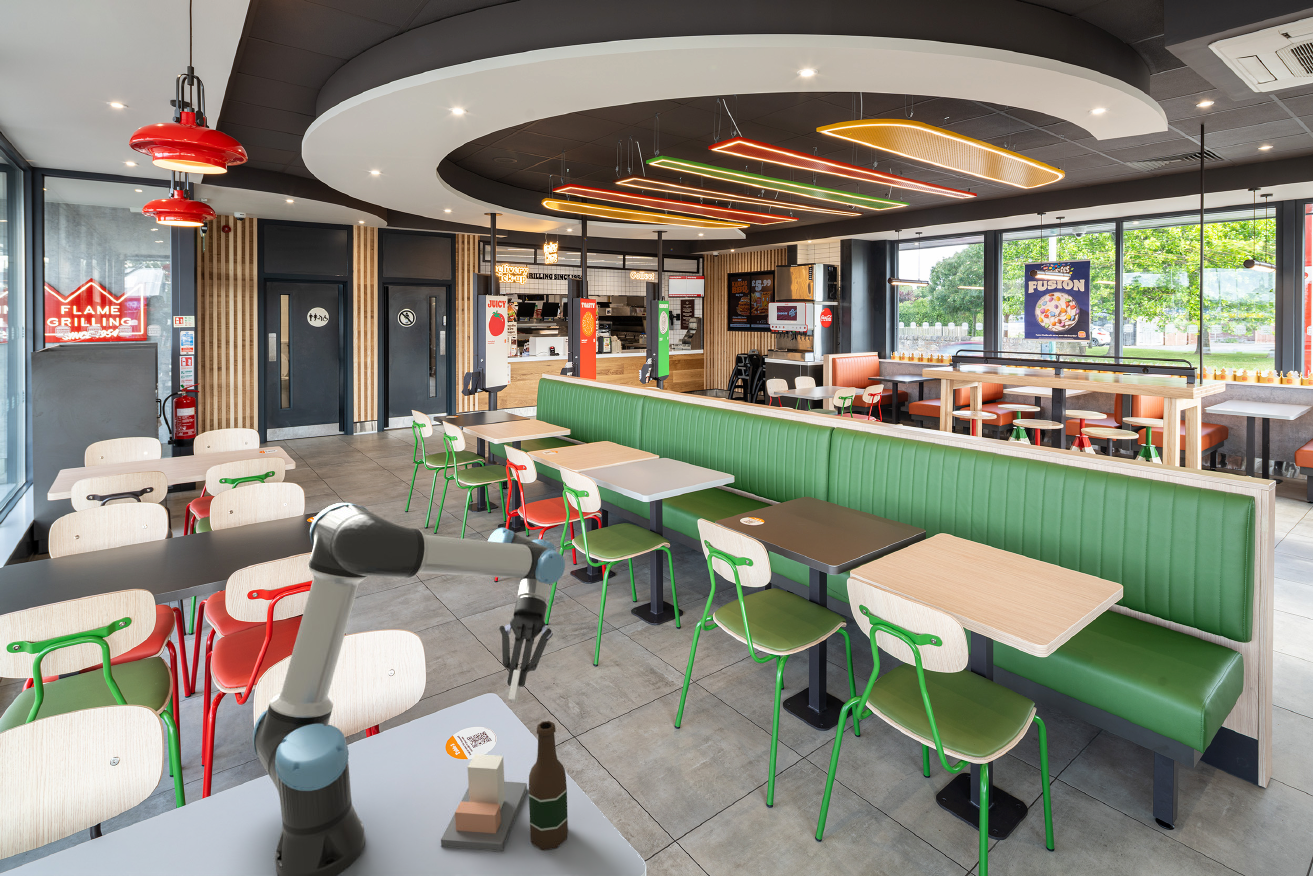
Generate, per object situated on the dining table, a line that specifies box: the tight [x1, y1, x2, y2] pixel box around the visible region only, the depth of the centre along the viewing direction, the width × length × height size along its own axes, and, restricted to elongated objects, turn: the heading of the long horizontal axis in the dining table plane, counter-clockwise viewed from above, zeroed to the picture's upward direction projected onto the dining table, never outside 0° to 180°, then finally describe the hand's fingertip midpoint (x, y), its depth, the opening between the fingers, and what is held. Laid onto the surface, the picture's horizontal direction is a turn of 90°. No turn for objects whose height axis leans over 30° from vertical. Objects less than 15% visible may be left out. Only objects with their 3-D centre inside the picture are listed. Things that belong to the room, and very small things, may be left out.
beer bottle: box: [528, 720, 569, 851], centre depth 128 cm, size 8×8×24 cm
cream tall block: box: [467, 753, 505, 810], centre depth 135 cm, size 6×4×10 cm, turn 85°
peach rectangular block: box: [454, 800, 501, 833], centre depth 131 cm, size 8×3×4 cm, turn 85°
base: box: [440, 780, 528, 852], centre depth 135 cm, size 12×17×2 cm
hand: (512, 700), depth 150 cm, fingers closed
